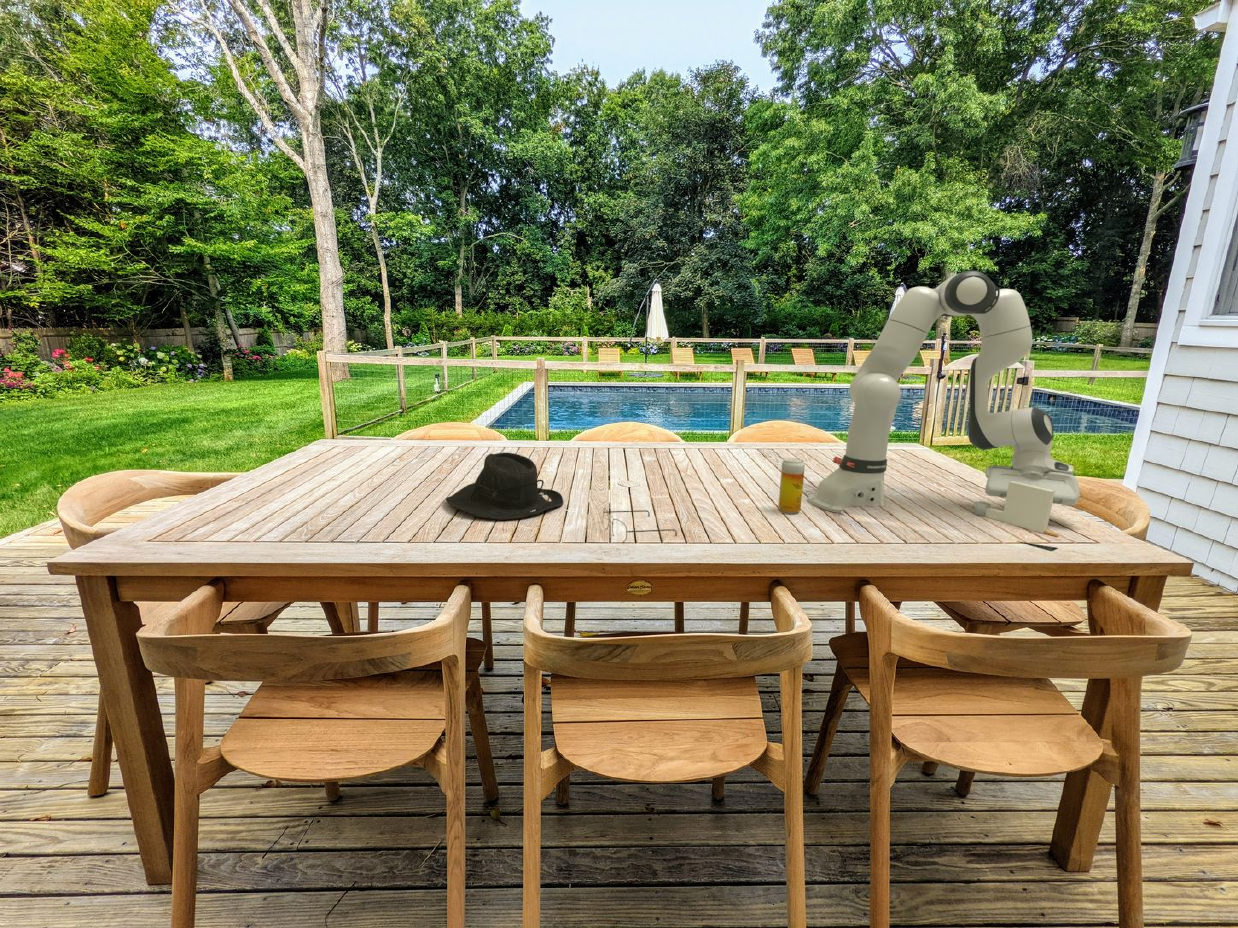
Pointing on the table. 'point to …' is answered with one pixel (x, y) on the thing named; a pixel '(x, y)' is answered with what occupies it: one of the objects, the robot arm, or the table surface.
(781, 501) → the beer glass
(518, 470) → the hat
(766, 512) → the table surface
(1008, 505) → the peg
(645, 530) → the eyeglasses
